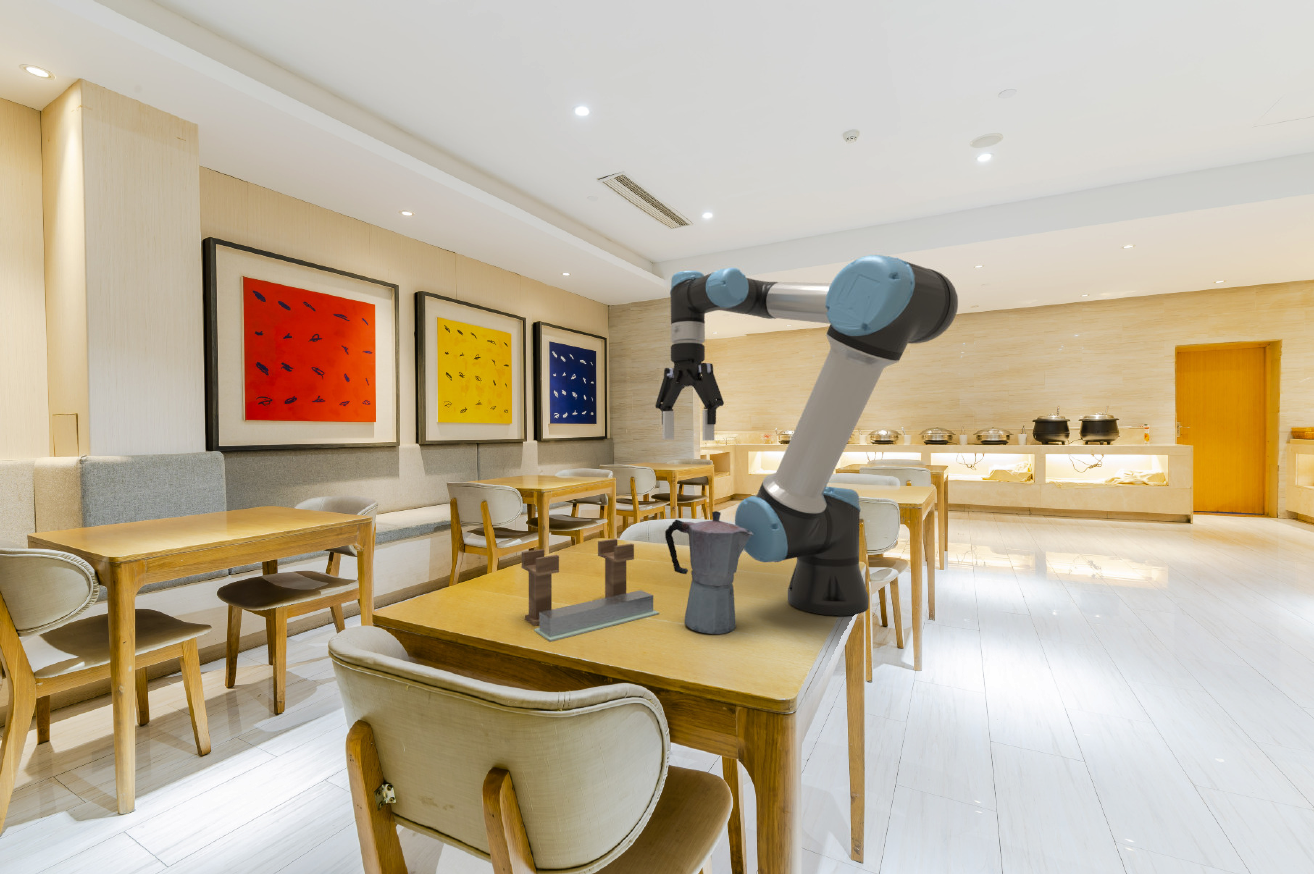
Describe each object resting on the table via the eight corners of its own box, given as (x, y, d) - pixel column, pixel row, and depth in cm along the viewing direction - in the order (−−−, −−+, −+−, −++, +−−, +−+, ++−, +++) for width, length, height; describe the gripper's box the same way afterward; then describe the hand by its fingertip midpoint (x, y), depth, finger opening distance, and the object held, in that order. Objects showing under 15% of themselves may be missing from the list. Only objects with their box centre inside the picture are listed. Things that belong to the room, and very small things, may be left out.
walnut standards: (634, 605, 106) (634, 544, 106) (538, 628, 94) (537, 559, 94) (614, 597, 112) (614, 538, 112) (521, 617, 100) (521, 551, 100)
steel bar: (653, 611, 102) (653, 595, 102) (550, 637, 90) (550, 618, 90) (640, 605, 106) (640, 590, 106) (539, 629, 93) (539, 612, 93)
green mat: (659, 613, 102) (659, 612, 102) (550, 641, 88) (550, 639, 88) (640, 605, 107) (640, 604, 107) (534, 630, 93) (534, 628, 93)
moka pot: (752, 639, 89) (752, 516, 89) (658, 632, 92) (658, 513, 92) (753, 619, 99) (754, 508, 99) (668, 613, 102) (669, 505, 102)
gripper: (640, 349, 130) (640, 439, 130) (714, 334, 110) (714, 441, 110) (665, 351, 134) (665, 438, 135) (740, 338, 115) (740, 440, 115)
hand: (687, 440), depth 122 cm, fingers open, 13 cm apart
